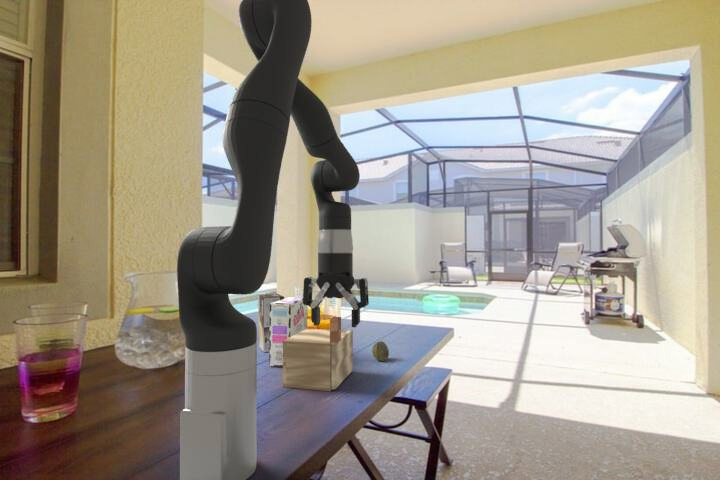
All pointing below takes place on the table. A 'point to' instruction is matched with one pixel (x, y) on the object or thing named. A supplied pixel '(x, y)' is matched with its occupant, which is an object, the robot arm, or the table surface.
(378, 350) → the lime
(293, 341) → the carton
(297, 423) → the table surface
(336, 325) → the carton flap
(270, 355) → the candy box
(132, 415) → the table surface
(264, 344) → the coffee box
